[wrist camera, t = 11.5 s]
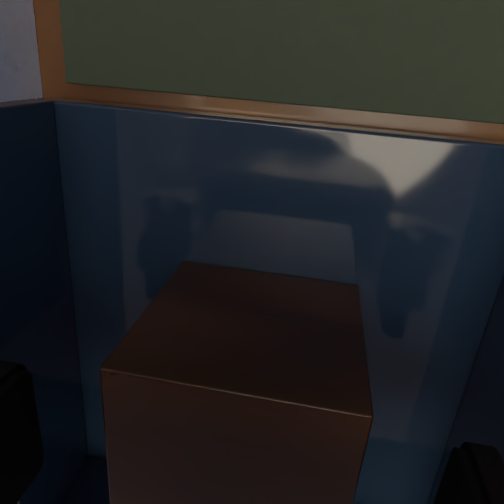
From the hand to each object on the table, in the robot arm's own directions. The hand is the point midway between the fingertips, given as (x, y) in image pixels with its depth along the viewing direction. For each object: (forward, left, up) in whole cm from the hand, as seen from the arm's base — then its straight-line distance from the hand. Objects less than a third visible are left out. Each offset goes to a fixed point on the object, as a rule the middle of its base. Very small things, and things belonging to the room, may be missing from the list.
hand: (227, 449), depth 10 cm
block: (0, 0, -4) cm, 4 cm away
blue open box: (0, -3, -5) cm, 6 cm away
